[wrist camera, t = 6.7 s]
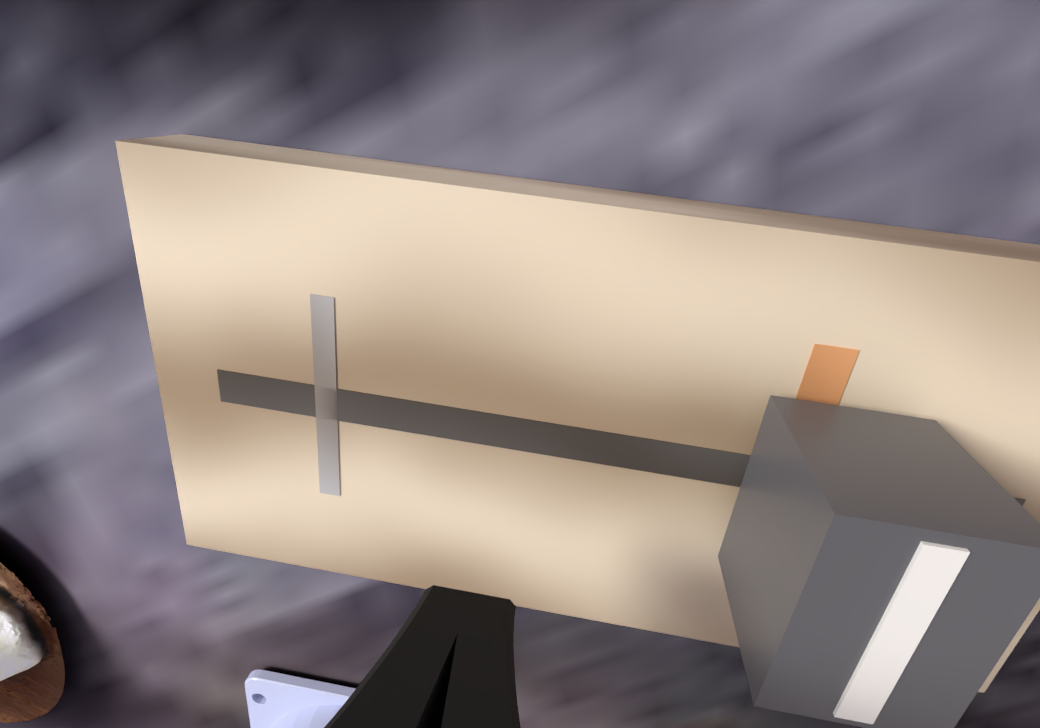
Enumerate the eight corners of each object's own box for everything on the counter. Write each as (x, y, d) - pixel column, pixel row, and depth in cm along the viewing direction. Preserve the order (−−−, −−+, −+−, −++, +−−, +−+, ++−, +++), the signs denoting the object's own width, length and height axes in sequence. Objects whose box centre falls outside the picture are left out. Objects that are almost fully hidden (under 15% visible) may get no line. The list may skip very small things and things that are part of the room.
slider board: (941, 624, 16) (985, 694, 14) (230, 497, 17) (186, 545, 15) (1152, 259, 11) (1255, 290, 10) (183, 134, 13) (114, 140, 11)
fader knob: (859, 580, 13) (946, 747, 9) (717, 555, 13) (754, 710, 10) (935, 420, 11) (1072, 557, 8) (769, 395, 11) (836, 516, 8)
